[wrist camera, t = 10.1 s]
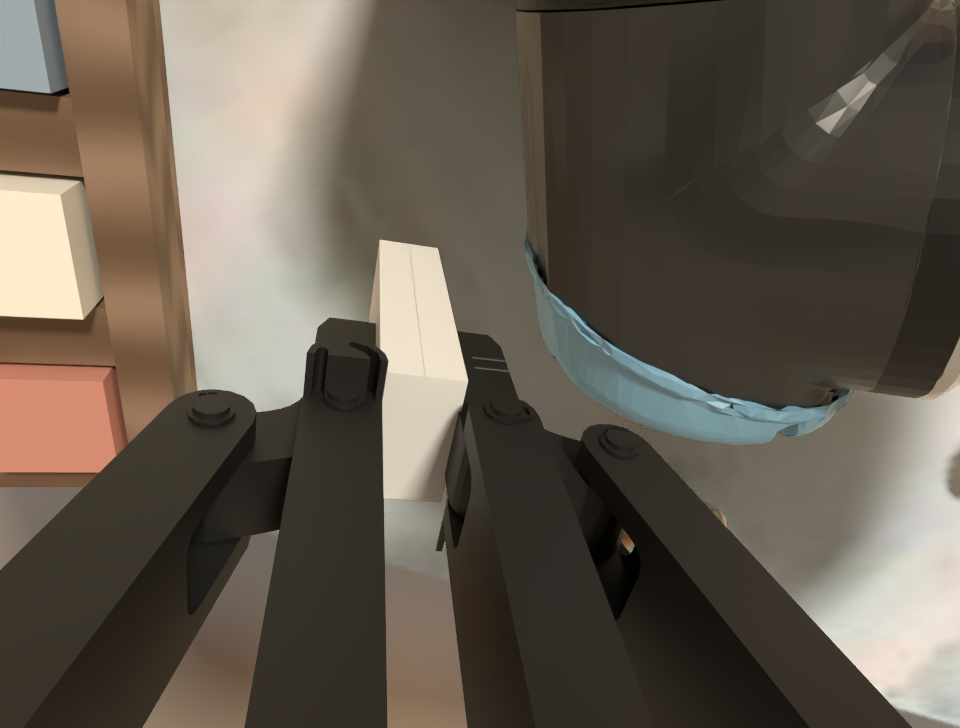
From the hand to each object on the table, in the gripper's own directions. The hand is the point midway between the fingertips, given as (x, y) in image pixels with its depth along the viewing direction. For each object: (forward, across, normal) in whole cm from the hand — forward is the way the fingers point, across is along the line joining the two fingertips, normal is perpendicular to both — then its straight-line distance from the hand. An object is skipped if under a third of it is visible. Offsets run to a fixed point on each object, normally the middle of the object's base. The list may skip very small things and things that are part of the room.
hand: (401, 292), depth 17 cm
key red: (+19, -16, -17) cm, 30 cm away
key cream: (+18, -17, -7) cm, 26 cm away
